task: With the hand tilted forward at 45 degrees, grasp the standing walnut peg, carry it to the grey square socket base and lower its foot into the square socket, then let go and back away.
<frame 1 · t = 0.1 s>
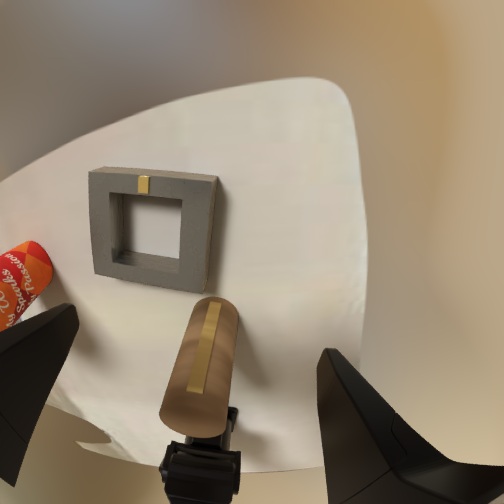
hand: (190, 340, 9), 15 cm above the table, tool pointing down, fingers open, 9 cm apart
walnut peg: (215, 316, 27), on the table
paper cup: (37, 261, 25), on the table
grey square socket base: (154, 222, 23), on the table
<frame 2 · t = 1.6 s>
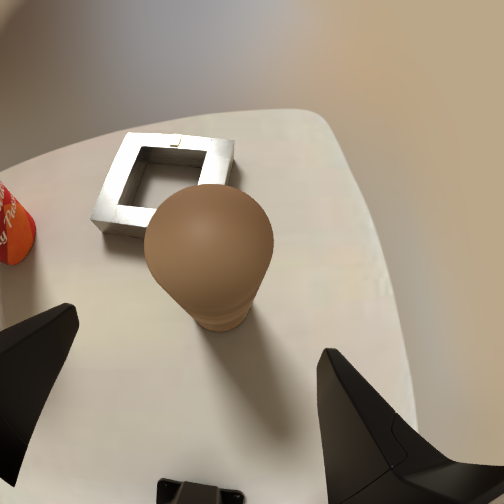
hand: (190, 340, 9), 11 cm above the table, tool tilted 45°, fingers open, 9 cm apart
walnut peg: (219, 302, 21), on the table
paper cup: (18, 238, 21), on the table
grey square socket base: (168, 192, 23), on the table
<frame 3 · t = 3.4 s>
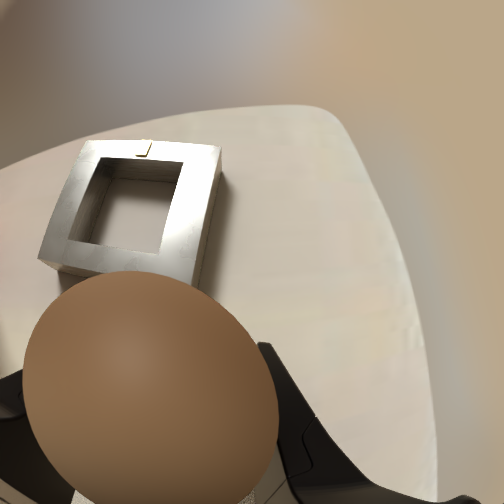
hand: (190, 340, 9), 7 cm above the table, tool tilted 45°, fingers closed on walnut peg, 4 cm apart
walnut peg: (202, 370, 15), on the table, touching gripper
grey square socket base: (135, 218, 17), on the table
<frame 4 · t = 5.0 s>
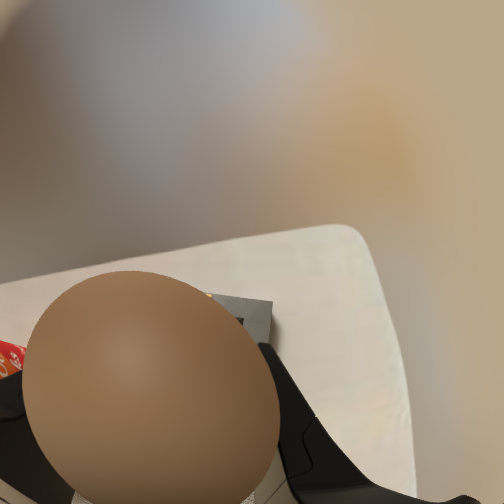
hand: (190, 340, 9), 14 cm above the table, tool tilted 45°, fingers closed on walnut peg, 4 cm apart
walnut peg: (203, 370, 15), point 7 cm above the table, touching gripper
paper cup: (41, 378, 19), on the table
grey square socket base: (201, 352, 22), on the table
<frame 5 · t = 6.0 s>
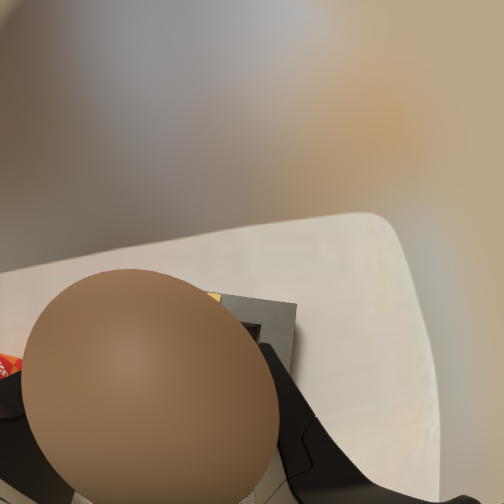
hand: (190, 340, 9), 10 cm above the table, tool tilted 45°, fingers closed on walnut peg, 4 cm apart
walnut peg: (202, 369, 15), point 3 cm above the table, touching gripper
paper cup: (21, 388, 15), on the table
grey square socket base: (206, 364, 18), on the table
when the fingers open (8 cm above the table, at t = 6.7 s): walnut peg drops 2 cm, resting in grey square socket base.
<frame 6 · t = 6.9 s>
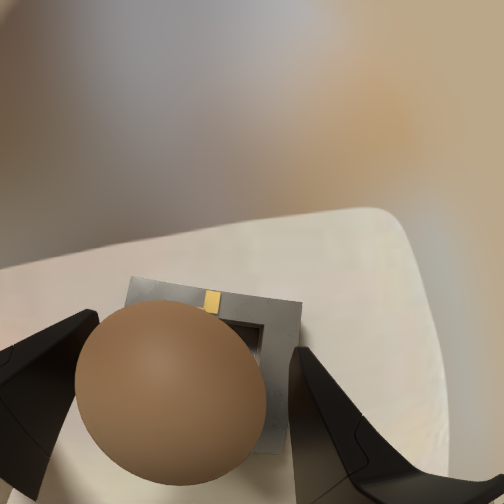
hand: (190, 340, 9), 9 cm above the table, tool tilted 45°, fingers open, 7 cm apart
walnut peg: (206, 369, 16), resting in grey square socket base
grey square socket base: (205, 367, 16), on the table
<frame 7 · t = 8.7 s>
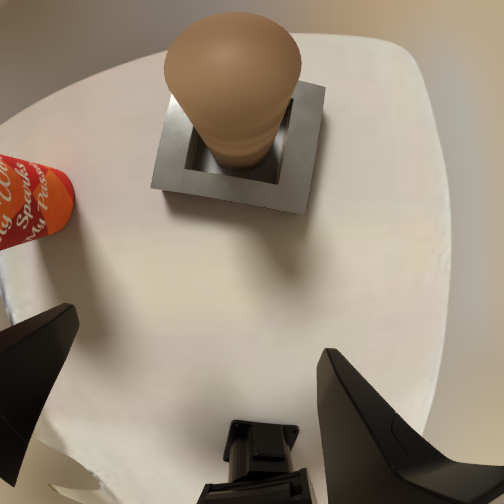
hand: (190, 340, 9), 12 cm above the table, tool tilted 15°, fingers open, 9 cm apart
walnut peg: (240, 141, 19), resting in grey square socket base
paper cup: (52, 200, 20), on the table
grey square socket base: (240, 139, 19), on the table
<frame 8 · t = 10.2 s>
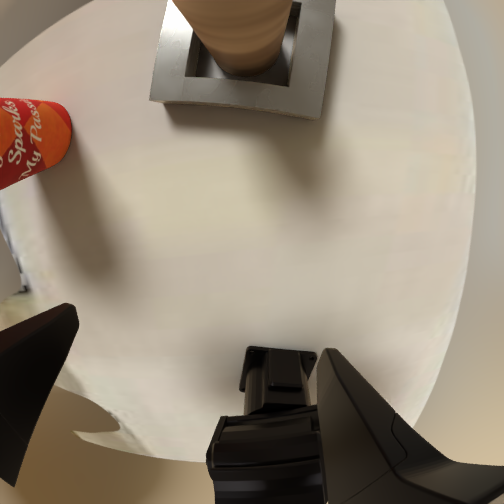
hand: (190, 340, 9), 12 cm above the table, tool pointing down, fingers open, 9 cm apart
walnut peg: (246, 47, 15), resting in grey square socket base
paper cup: (49, 133, 17), on the table
grey square socket base: (245, 46, 15), on the table
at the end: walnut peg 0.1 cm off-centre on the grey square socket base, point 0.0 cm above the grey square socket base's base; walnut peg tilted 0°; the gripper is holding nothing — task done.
